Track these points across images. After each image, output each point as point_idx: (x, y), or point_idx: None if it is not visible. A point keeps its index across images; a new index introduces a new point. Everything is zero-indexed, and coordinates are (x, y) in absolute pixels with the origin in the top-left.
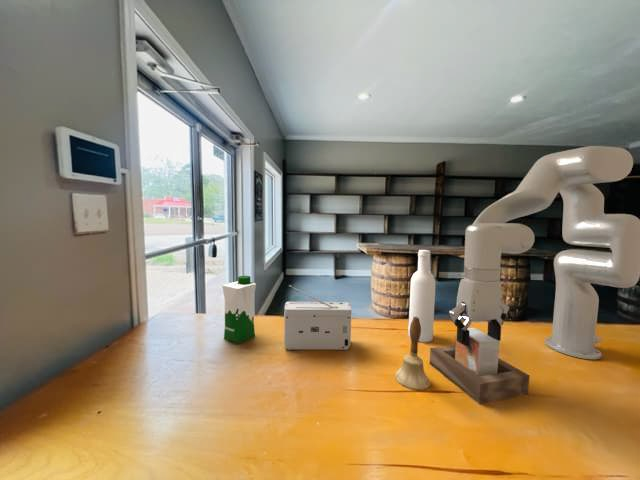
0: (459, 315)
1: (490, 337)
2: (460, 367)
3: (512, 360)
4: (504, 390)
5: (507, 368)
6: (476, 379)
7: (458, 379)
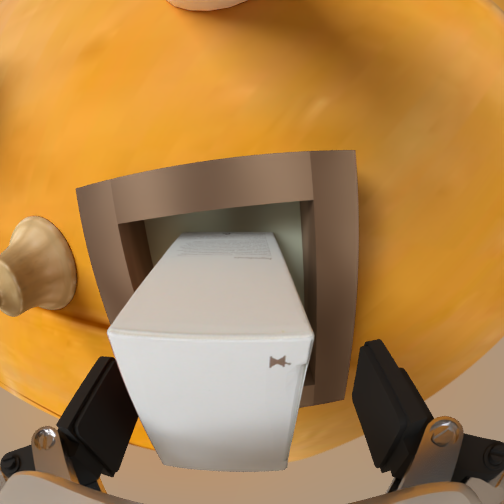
0: (44, 474)
1: (275, 451)
2: None
3: (453, 205)
4: None
5: (315, 371)
6: None
7: None
